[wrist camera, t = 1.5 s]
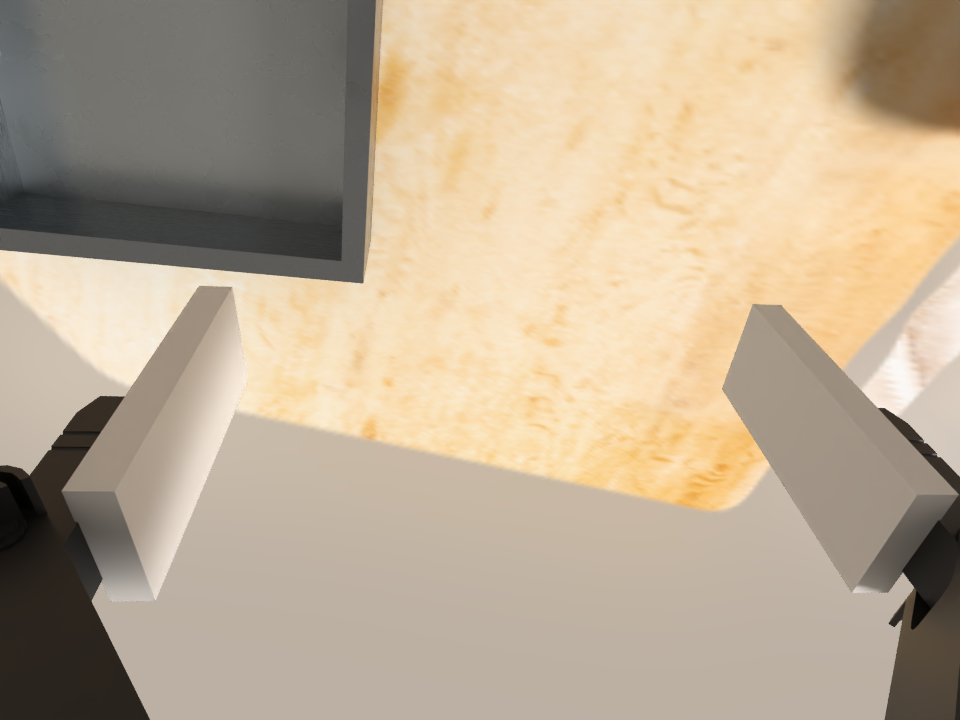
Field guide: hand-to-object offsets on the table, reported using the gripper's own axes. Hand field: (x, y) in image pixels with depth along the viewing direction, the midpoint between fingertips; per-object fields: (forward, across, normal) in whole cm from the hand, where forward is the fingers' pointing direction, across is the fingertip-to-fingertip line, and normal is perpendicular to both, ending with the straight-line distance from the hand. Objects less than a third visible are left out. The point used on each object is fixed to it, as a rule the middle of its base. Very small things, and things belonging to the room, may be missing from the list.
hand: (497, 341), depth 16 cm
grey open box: (+23, -15, +1) cm, 28 cm away
